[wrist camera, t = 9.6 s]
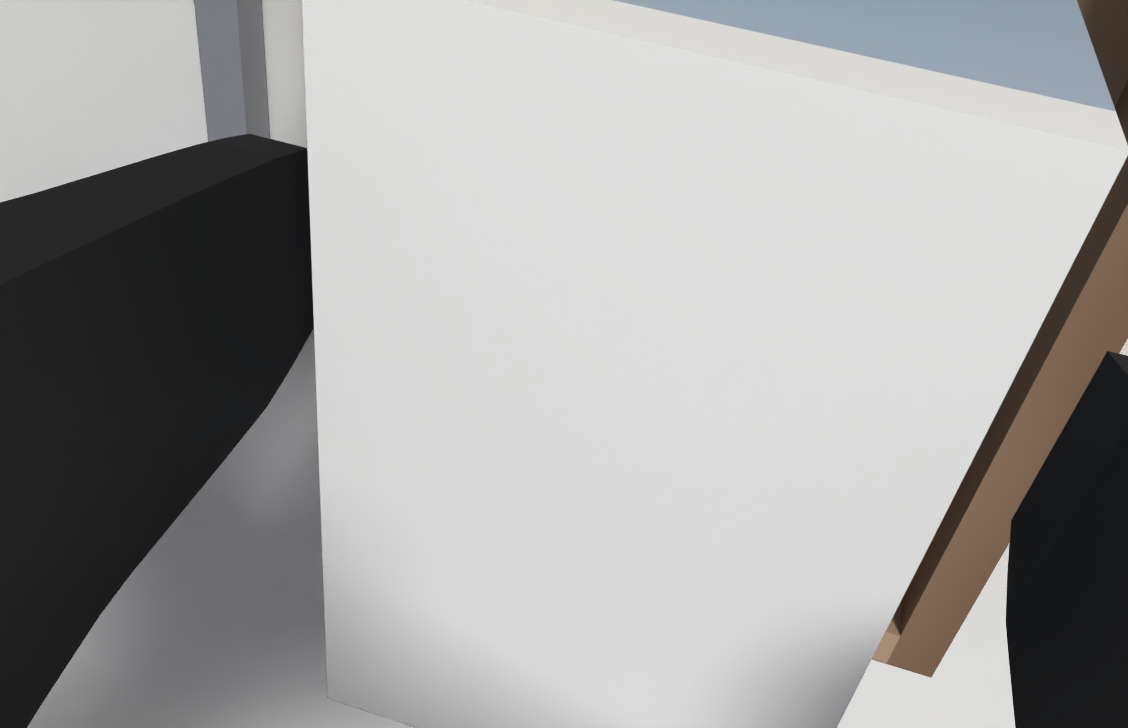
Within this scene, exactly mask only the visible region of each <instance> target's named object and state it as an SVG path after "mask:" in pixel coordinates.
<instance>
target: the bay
mask: <svg viewBox="0 0 1128 728" xmlns="http://www.w3.org/2000/svg"><path fill="white" fill-rule="evenodd" d="M194 5H195V15H196V24H197V34H198V44H199V54H200V64H201V73H202V83H203V93H204V103H205V113H206V123H207V132H208V142H210V141H214V140H218V139H223V138H227V137H233V136H238V135H244V134H253V135H256V136H260V137H264V138H268V139H270V132H269V115H268V99H267V83H266V66H265V50H264V34H263V17H262V1H261V0H194Z"/></svg>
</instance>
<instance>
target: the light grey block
mask: <svg viewBox="0 0 1128 728" xmlns="http://www.w3.org/2000/svg"><path fill="white" fill-rule="evenodd" d="M302 16H303V43H304V70H305V98H306V125H307V152H308V179H309V207H310V234H311V261H312V288H313V316H314V343H315V370H316V397H317V425H318V452H319V479H320V506H321V534H322V561H323V588H324V615H325V643H326V670H327V697H328V699H331V700H334V701H337V702H340V703H343V704H346V705H349V706H352V707H355V708H358V709H361V710H364V711H367V712H370V713H373V714H376V715H379V716H382V717H385V718H388V719H391V720H394V721H397V722H400V723H403V724H406V725H409V726H412V727H415V728H837V726H838V724H839V722H840V720H841V718H842V716H843V714H844V712H845V710H846V708H847V706H848V704H849V702H850V700H851V698H852V696H853V694H854V693H855V691H856V689H857V687H858V685H859V683H860V681H861V679H862V677H863V675H864V673H865V671H866V669H867V667H868V665H869V663H870V661H871V659H872V657H873V655H874V653H875V651H876V649H877V647H878V645H879V643H880V641H881V639H882V637H883V636H884V634H885V632H886V630H887V628H888V626H889V624H890V622H891V620H892V618H893V616H894V614H895V612H896V610H897V608H898V606H899V604H900V602H901V600H902V598H903V596H904V594H905V592H906V590H907V588H908V586H909V584H910V582H911V580H912V579H913V577H914V575H915V573H916V571H917V569H918V567H919V565H920V563H921V561H922V559H923V557H924V555H925V553H926V551H927V549H928V547H929V545H930V543H931V541H932V539H933V537H934V535H935V533H936V531H937V529H938V527H939V525H940V523H941V522H942V520H943V518H944V516H945V514H946V512H947V510H948V508H949V506H950V504H951V502H952V500H953V498H954V496H955V494H956V492H957V490H958V488H959V486H960V484H961V482H962V480H963V478H964V476H965V474H966V472H967V470H968V468H969V467H970V465H971V463H972V461H973V459H974V457H975V455H976V453H977V451H978V449H979V447H980V445H981V443H982V441H983V439H984V437H985V435H986V433H987V431H988V429H989V427H990V425H991V423H992V421H993V419H994V417H995V415H996V413H997V411H998V410H999V408H1000V406H1001V404H1002V402H1003V400H1004V398H1005V396H1006V394H1007V392H1008V390H1009V388H1010V386H1011V384H1012V382H1013V380H1014V378H1015V376H1016V374H1017V372H1018V370H1019V368H1020V366H1021V364H1022V362H1023V360H1024V358H1025V356H1026V354H1027V353H1028V351H1029V349H1030V347H1031V345H1032V343H1033V341H1034V339H1035V337H1036V335H1037V333H1038V331H1039V329H1040V327H1041V325H1042V323H1043V321H1044V319H1045V317H1046V315H1047V313H1048V311H1049V309H1050V307H1051V305H1052V303H1053V301H1054V299H1055V297H1056V296H1057V294H1058V292H1059V290H1060V288H1061V286H1062V284H1063V282H1064V280H1065V278H1066V276H1067V274H1068V272H1069V270H1070V268H1071V266H1072V264H1073V262H1074V260H1075V258H1076V256H1077V254H1078V252H1079V250H1080V248H1081V246H1082V244H1083V242H1084V241H1085V239H1086V237H1087V235H1088V233H1089V231H1090V229H1091V227H1092V225H1093V223H1094V221H1095V219H1096V217H1097V215H1098V213H1099V211H1100V209H1101V207H1102V205H1103V203H1104V201H1105V199H1106V197H1107V195H1108V193H1109V191H1110V189H1111V187H1112V185H1113V184H1114V182H1115V180H1116V178H1117V176H1118V174H1119V172H1120V170H1121V168H1122V166H1123V164H1124V162H1125V160H1126V158H1127V156H1128V145H1127V142H1126V139H1125V136H1124V133H1123V130H1122V128H1121V125H1120V122H1119V119H1118V116H1117V113H1116V110H1115V108H1114V105H1113V102H1112V99H1111V96H1110V93H1109V91H1108V88H1107V85H1106V82H1105V79H1104V76H1103V74H1102V71H1101V68H1100V65H1099V62H1098V59H1097V56H1096V54H1095V51H1094V48H1093V45H1092V42H1091V39H1090V37H1089V34H1088V31H1087V28H1086V25H1085V22H1084V19H1083V17H1082V14H1081V11H1080V8H1079V5H1078V2H1077V0H302Z"/></svg>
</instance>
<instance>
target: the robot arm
mask: <svg viewBox="0 0 1128 728" xmlns="http://www.w3.org/2000/svg"><path fill="white" fill-rule="evenodd" d="M313 328H314V316H313V288H312V261H311V234H310V207H309V179H308V152H307V148H304V147H300V146H296V145H292V144H288V143H284V142H280V141H276V140H272V139H268V138H264V137H260V136H256V135H253V134H244V135H238V136H233V137H227V138H223V139H218V140H214V141H210V142H206V143H202V144H198V145H194V146H191V147H187V148H184V149H180V150H177V151H173V152H170V153H166V154H163V155H160V156H156V157H153V158H149V159H146V160H143V161H140V162H136V163H133V164H130V165H126V166H123V167H120V168H117V169H113V170H110V171H107V172H103V173H100V174H97V175H93V176H90V177H87V178H83V179H80V180H77V181H74V182H70V183H67V184H64V185H60V186H57V187H54V188H50V189H47V190H44V191H40V192H37V193H34V194H30V195H27V196H23V197H19V198H15V199H12V200H8V201H4V202H1V203H0V728H27V727H28V725H29V723H30V722H31V720H32V719H33V717H34V715H35V714H36V712H37V710H38V709H39V707H40V706H41V704H42V702H43V701H44V699H45V698H46V696H47V695H48V693H49V692H50V690H51V689H52V687H53V686H54V684H55V683H56V681H57V680H58V678H59V677H60V675H61V673H62V672H63V670H64V669H65V667H66V666H67V664H68V663H69V661H70V660H71V658H72V657H73V655H74V654H75V652H76V651H77V649H78V648H79V646H80V644H81V643H82V641H83V640H84V638H85V637H86V635H87V634H88V632H89V631H90V629H91V628H92V626H93V625H94V623H95V622H96V620H97V619H98V617H99V616H100V614H101V613H102V611H103V610H104V609H105V607H106V606H107V605H108V603H109V602H110V601H111V599H112V598H113V597H114V595H115V594H116V593H117V591H118V590H119V589H120V587H121V586H122V585H123V583H124V582H125V581H126V579H127V578H128V577H129V575H130V574H131V573H132V572H133V571H134V569H135V568H136V567H137V566H138V564H139V563H140V562H141V561H142V560H143V558H144V557H145V556H146V555H147V553H148V552H149V551H150V550H151V549H152V547H153V546H154V545H155V544H156V543H157V541H158V540H159V539H160V538H161V536H162V535H163V534H164V533H165V532H166V530H167V529H168V528H169V527H170V525H171V524H172V523H173V522H174V521H175V519H176V518H177V517H178V516H179V515H180V513H181V512H182V511H183V510H184V508H185V507H186V506H187V505H188V504H189V502H190V501H191V500H192V499H193V497H194V496H195V495H196V494H197V493H198V491H199V490H200V489H201V488H202V487H203V485H204V484H205V483H206V482H207V480H208V479H209V478H210V477H211V476H212V474H213V473H214V472H215V471H216V470H217V468H218V467H219V466H220V465H221V463H222V462H223V461H224V460H225V458H226V457H227V456H228V455H229V453H230V452H231V451H232V450H233V448H234V447H235V446H236V445H237V443H238V442H239V441H240V440H241V439H242V437H243V436H244V435H245V434H246V432H247V431H248V430H249V429H250V427H251V426H252V425H253V424H254V422H255V421H256V420H257V418H258V417H259V416H260V415H261V413H262V412H263V411H264V409H265V408H266V407H267V406H268V404H269V403H270V401H271V399H272V398H273V396H274V394H275V393H276V391H277V390H278V388H279V386H280V385H281V383H282V382H283V380H284V378H285V377H286V375H287V373H288V372H289V370H290V369H291V367H292V365H293V363H294V361H295V360H296V358H297V356H298V354H299V353H300V351H301V349H302V347H303V346H304V344H305V342H306V340H307V339H308V337H309V335H310V333H311V332H312V330H313ZM1006 628H1007V641H1008V653H1009V663H1010V674H1011V685H1012V695H1013V706H1014V716H1015V726H1016V728H1128V356H1126V355H1122V354H1118V353H1114V352H1110V351H1107V353H1106V354H1105V356H1104V358H1103V360H1102V361H1101V363H1100V365H1099V367H1098V368H1097V370H1096V372H1095V374H1094V375H1093V377H1092V379H1091V381H1090V383H1089V384H1088V386H1087V388H1086V390H1085V391H1084V393H1083V395H1082V397H1081V398H1080V400H1079V402H1078V404H1077V405H1076V407H1075V409H1074V411H1073V412H1072V414H1071V416H1070V418H1069V419H1068V421H1067V423H1066V425H1065V426H1064V428H1063V430H1062V432H1061V433H1060V435H1059V437H1058V439H1057V441H1056V442H1055V444H1054V446H1053V448H1052V449H1051V451H1050V453H1049V455H1048V456H1047V458H1046V460H1045V462H1044V463H1043V465H1042V467H1041V469H1040V470H1039V472H1038V474H1037V476H1036V477H1035V479H1034V481H1033V483H1032V484H1031V486H1030V488H1029V490H1028V492H1027V493H1026V495H1025V497H1024V499H1023V500H1022V502H1021V504H1020V506H1019V507H1018V509H1017V511H1016V513H1015V514H1014V516H1013V518H1012V520H1011V531H1010V546H1009V561H1008V577H1007V605H1006Z"/></svg>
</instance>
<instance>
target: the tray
mask: <svg viewBox="0 0 1128 728" xmlns="http://www.w3.org/2000/svg"><path fill="white" fill-rule="evenodd" d="M1077 2H1078V5H1079V8H1080V11H1081V14H1082V17H1083V19H1084V22H1085V25H1086V28H1087V31H1088V34H1089V37H1090V39H1091V42H1092V45H1093V48H1094V51H1095V54H1096V56H1097V59H1098V62H1099V65H1100V68H1101V71H1102V74H1103V76H1104V79H1105V82H1106V85H1107V88H1108V91H1109V93H1110V96H1111V99H1112V102H1113V105H1114V108H1115V110H1116V113H1117V116H1118V119H1119V122H1120V125H1121V128H1122V130H1123V133H1124V136H1125V139H1126V142H1127V145H1128V0H1077ZM1127 338H1128V156H1127V158H1126V160H1125V162H1124V164H1123V166H1122V168H1121V170H1120V172H1119V174H1118V176H1117V178H1116V180H1115V182H1114V184H1113V185H1112V187H1111V189H1110V191H1109V193H1108V195H1107V197H1106V199H1105V201H1104V203H1103V205H1102V207H1101V209H1100V211H1099V213H1098V215H1097V217H1096V219H1095V221H1094V223H1093V225H1092V227H1091V229H1090V231H1089V233H1088V235H1087V237H1086V239H1085V241H1084V242H1083V244H1082V246H1081V248H1080V250H1079V252H1078V254H1077V256H1076V258H1075V260H1074V262H1073V264H1072V266H1071V268H1070V270H1069V272H1068V274H1067V276H1066V278H1065V280H1064V282H1063V284H1062V286H1061V288H1060V290H1059V292H1058V294H1057V296H1056V297H1055V299H1054V301H1053V303H1052V305H1051V307H1050V309H1049V311H1048V313H1047V315H1046V317H1045V319H1044V321H1043V323H1042V325H1041V327H1040V329H1039V331H1038V333H1037V335H1036V337H1035V339H1034V341H1033V343H1032V345H1031V347H1030V349H1029V351H1028V353H1027V354H1026V356H1025V358H1024V360H1023V362H1022V364H1021V366H1020V368H1019V370H1018V372H1017V374H1016V376H1015V378H1014V380H1013V382H1012V384H1011V386H1010V388H1009V390H1008V392H1007V394H1006V396H1005V398H1004V400H1003V402H1002V404H1001V406H1000V408H999V410H998V411H997V413H996V415H995V417H994V419H993V421H992V423H991V425H990V427H989V429H988V431H987V433H986V435H985V437H984V439H983V441H982V443H981V445H980V447H979V449H978V451H977V453H976V455H975V457H974V459H973V461H972V463H971V465H970V467H969V468H968V470H967V472H966V474H965V476H964V478H963V480H962V482H961V484H960V486H959V488H958V490H957V492H956V494H955V496H954V498H953V500H952V502H951V504H950V506H949V508H948V510H947V512H946V514H945V516H944V518H943V520H942V522H941V523H940V525H939V527H938V529H937V531H936V533H935V535H934V537H933V539H932V541H931V543H930V545H929V547H928V549H927V551H926V553H925V555H924V557H923V559H922V561H921V563H920V565H919V567H918V569H917V571H916V573H915V575H914V577H913V579H912V580H911V582H910V584H909V586H908V588H907V590H906V592H905V594H904V596H903V598H902V600H901V602H900V604H899V606H898V608H897V610H896V612H895V614H894V616H893V618H892V620H891V622H890V624H889V626H888V628H887V630H886V632H885V634H884V636H883V637H882V639H881V641H880V643H879V645H878V647H877V649H876V651H875V653H874V655H873V657H872V660H876V661H879V662H882V663H885V664H889V665H892V666H895V667H899V668H902V669H905V670H908V671H912V672H915V673H918V674H921V675H925V676H928V677H932V675H933V674H934V672H935V670H936V668H937V667H938V665H939V663H940V661H941V660H942V658H943V656H944V655H945V653H946V651H947V649H948V648H949V646H950V644H951V642H952V641H953V639H954V637H955V636H956V634H957V632H958V630H959V629H960V627H961V625H962V623H963V622H964V620H965V618H966V617H967V615H968V613H969V611H970V610H971V608H972V606H973V604H974V603H975V601H976V599H977V598H978V596H979V594H980V592H981V591H982V589H983V587H984V585H985V584H986V582H987V580H988V579H989V577H990V575H991V573H992V572H993V570H994V568H995V566H996V565H997V563H998V561H999V560H1000V558H1001V556H1002V554H1003V553H1004V551H1005V549H1006V547H1007V546H1008V544H1009V542H1010V531H1011V520H1012V518H1013V516H1014V514H1015V513H1016V511H1017V509H1018V507H1019V506H1020V504H1021V502H1022V500H1023V499H1024V497H1025V495H1026V493H1027V492H1028V490H1029V488H1030V486H1031V484H1032V483H1033V481H1034V479H1035V477H1036V476H1037V474H1038V472H1039V470H1040V469H1041V467H1042V465H1043V463H1044V462H1045V460H1046V458H1047V456H1048V455H1049V453H1050V451H1051V449H1052V448H1053V446H1054V444H1055V442H1056V441H1057V439H1058V437H1059V435H1060V433H1061V432H1062V430H1063V428H1064V426H1065V425H1066V423H1067V421H1068V419H1069V418H1070V416H1071V414H1072V412H1073V411H1074V409H1075V407H1076V405H1077V404H1078V402H1079V400H1080V398H1081V397H1082V395H1083V393H1084V391H1085V390H1086V388H1087V386H1088V384H1089V383H1090V381H1091V379H1092V377H1093V375H1094V374H1095V372H1096V370H1097V368H1098V367H1099V365H1100V363H1101V361H1102V360H1103V358H1104V356H1105V354H1106V353H1107V351H1110V352H1114V353H1118V354H1119V352H1120V351H1121V349H1122V347H1123V345H1124V344H1125V342H1126V340H1127Z"/></svg>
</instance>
